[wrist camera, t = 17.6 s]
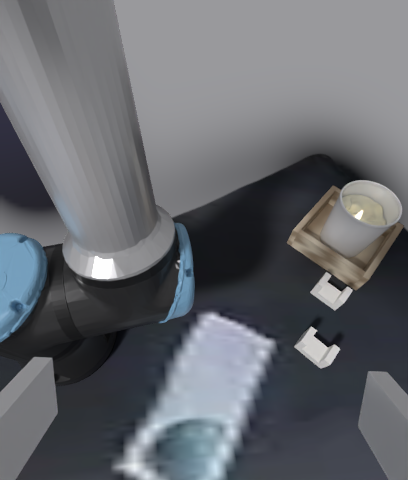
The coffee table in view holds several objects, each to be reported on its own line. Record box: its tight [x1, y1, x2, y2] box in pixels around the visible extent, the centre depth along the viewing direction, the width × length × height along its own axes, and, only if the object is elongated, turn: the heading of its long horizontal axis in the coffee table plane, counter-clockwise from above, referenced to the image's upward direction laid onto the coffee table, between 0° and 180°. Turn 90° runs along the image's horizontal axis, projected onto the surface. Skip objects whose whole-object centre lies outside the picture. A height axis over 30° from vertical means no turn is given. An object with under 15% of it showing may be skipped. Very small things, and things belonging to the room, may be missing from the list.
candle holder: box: [320, 180, 402, 258], centre depth 52 cm, size 10×10×12 cm
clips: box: [294, 272, 353, 369], centre depth 48 cm, size 8×13×4 cm, turn 138°
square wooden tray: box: [287, 186, 404, 290], centre depth 56 cm, size 15×15×5 cm
